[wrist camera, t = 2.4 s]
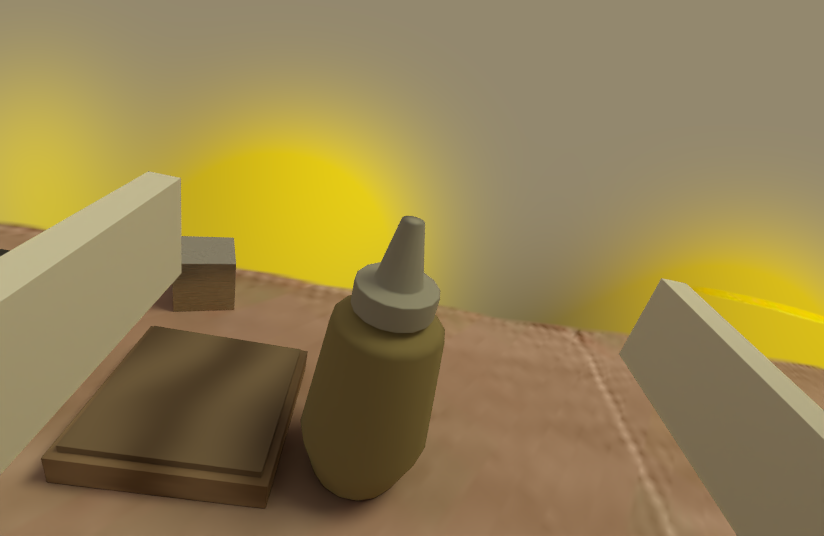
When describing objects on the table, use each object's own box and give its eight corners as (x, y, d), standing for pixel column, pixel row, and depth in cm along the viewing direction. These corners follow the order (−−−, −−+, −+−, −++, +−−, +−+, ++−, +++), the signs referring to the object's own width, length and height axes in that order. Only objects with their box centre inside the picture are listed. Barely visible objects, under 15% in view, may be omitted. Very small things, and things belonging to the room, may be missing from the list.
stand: (304, 370, 37) (308, 346, 36) (265, 508, 27) (268, 481, 25) (152, 346, 36) (150, 321, 35) (46, 481, 25) (39, 452, 24)
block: (232, 281, 46) (233, 237, 44) (234, 310, 42) (235, 264, 40) (176, 282, 44) (175, 236, 42) (173, 312, 40) (171, 263, 38)
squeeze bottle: (407, 419, 35) (471, 203, 27) (421, 521, 28) (514, 272, 20) (300, 412, 33) (333, 179, 25) (287, 518, 26) (327, 246, 18)
